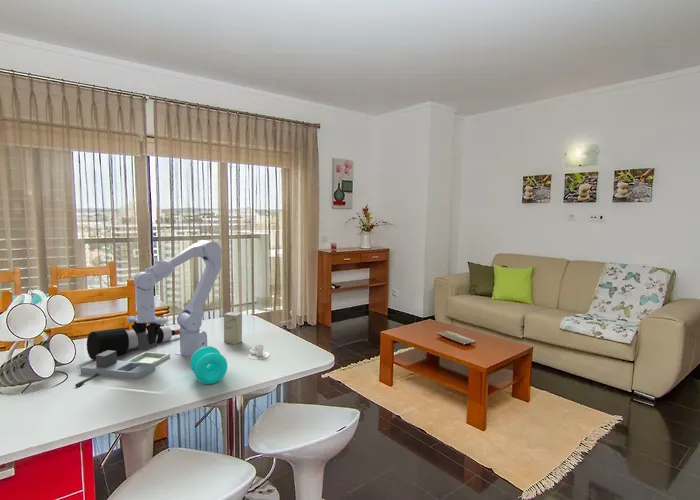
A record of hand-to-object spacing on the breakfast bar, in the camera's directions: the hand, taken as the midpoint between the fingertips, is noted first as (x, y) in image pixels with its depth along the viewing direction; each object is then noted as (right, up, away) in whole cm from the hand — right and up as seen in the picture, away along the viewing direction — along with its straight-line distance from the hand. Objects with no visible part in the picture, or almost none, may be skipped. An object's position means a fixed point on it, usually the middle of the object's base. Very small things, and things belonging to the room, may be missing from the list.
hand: (147, 343), depth 144 cm
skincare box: (+24, -5, +23) cm, 34 cm away
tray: (0, -7, +1) cm, 7 cm away
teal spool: (+27, -9, -13) cm, 31 cm away
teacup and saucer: (+39, -7, +11) cm, 41 cm away
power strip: (-6, -9, -12) cm, 16 cm away
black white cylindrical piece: (-11, -6, +15) cm, 19 cm away
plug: (0, -2, 0) cm, 2 cm away
